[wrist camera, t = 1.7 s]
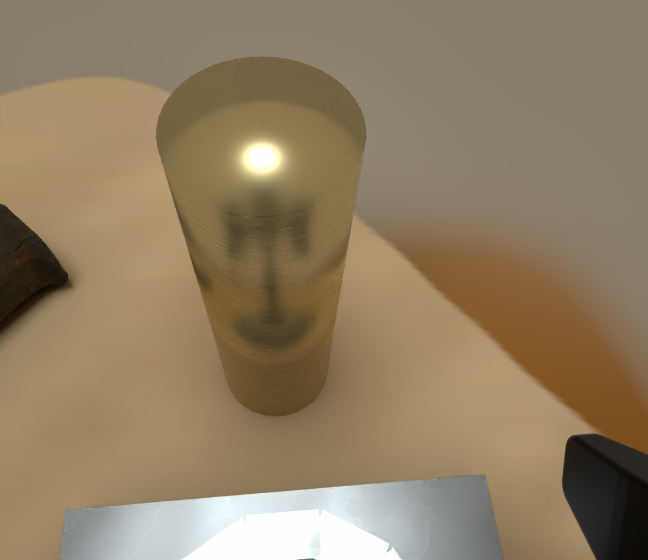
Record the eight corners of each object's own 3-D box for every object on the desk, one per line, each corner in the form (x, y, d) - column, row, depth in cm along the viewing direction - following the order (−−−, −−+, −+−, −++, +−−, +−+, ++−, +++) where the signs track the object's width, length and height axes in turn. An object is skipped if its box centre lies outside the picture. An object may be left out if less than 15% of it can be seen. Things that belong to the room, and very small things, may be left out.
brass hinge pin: (343, 390, 22) (403, 171, 10) (247, 433, 21) (196, 241, 9) (302, 306, 23) (313, 38, 12) (211, 341, 22) (130, 85, 11)
